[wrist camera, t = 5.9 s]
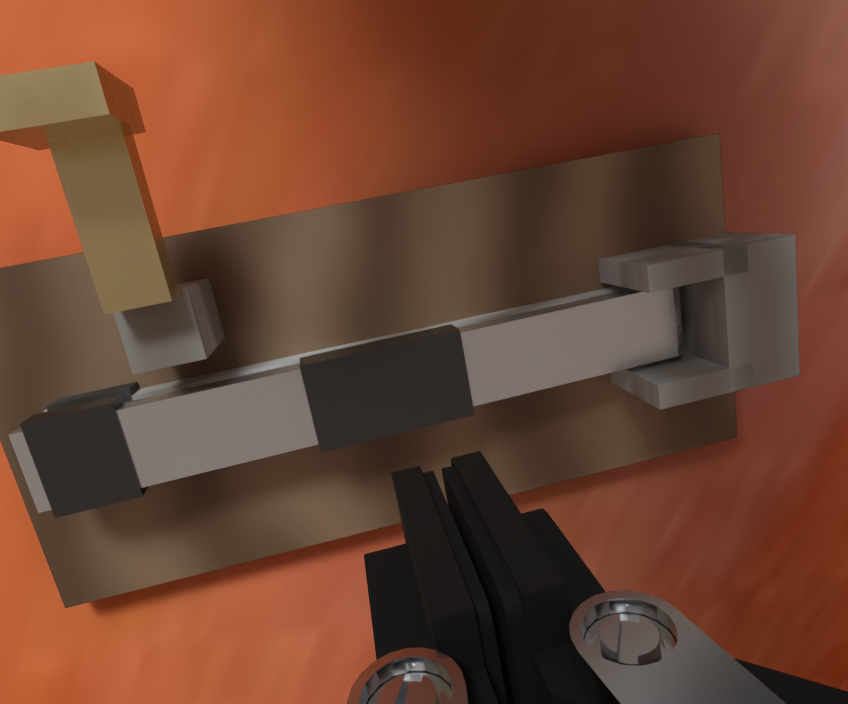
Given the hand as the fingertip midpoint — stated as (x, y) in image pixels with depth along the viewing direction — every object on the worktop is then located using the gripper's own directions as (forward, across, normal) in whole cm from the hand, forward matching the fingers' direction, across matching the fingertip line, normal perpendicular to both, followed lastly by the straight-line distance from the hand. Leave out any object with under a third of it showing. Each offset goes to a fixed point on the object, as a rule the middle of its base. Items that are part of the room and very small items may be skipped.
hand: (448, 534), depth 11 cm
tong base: (+16, -1, +1) cm, 16 cm away
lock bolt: (+11, +7, -7) cm, 14 cm away
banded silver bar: (+13, 0, +1) cm, 13 cm away
